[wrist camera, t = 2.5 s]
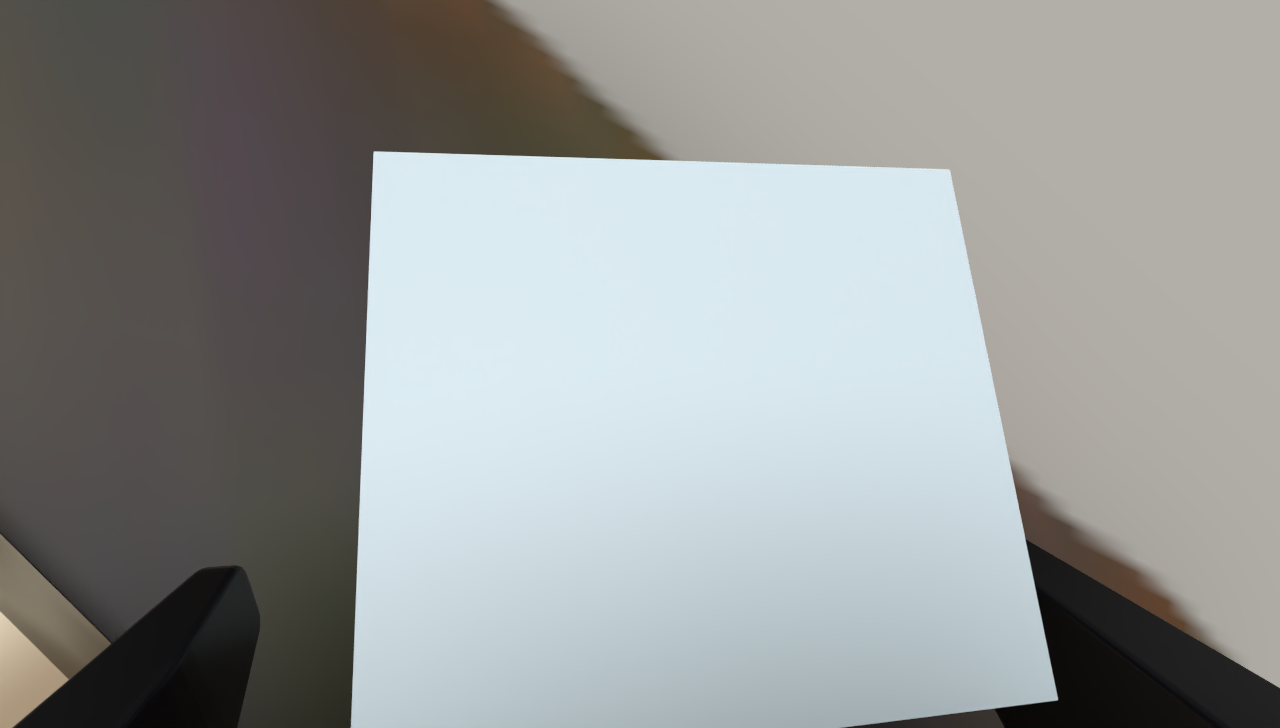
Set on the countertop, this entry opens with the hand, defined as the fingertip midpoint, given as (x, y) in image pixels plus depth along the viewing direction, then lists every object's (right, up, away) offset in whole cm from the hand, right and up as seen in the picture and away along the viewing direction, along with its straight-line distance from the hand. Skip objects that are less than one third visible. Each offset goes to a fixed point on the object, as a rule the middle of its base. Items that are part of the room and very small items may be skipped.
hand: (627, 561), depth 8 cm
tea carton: (-1, -1, +9) cm, 9 cm away
